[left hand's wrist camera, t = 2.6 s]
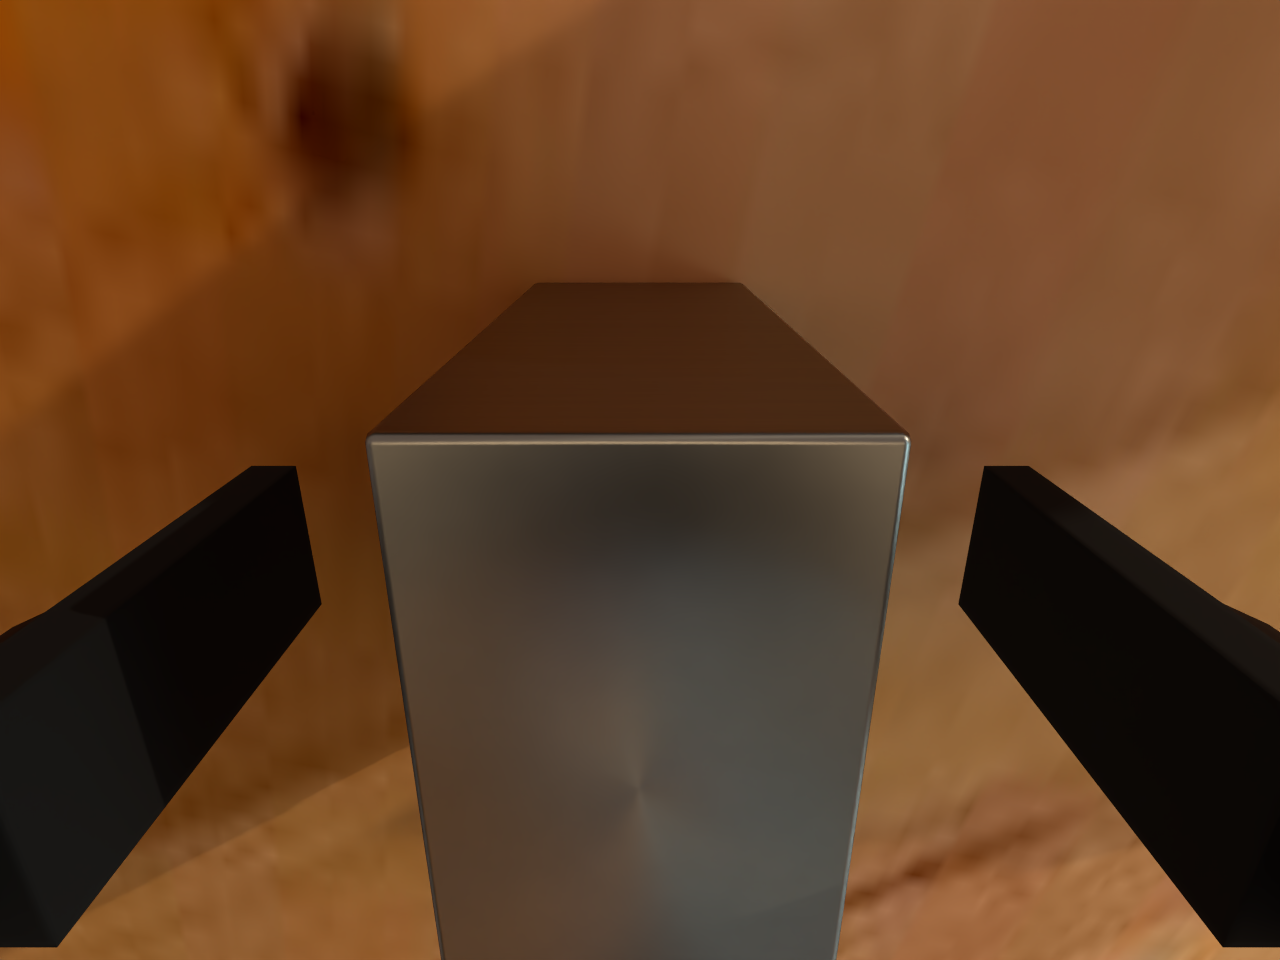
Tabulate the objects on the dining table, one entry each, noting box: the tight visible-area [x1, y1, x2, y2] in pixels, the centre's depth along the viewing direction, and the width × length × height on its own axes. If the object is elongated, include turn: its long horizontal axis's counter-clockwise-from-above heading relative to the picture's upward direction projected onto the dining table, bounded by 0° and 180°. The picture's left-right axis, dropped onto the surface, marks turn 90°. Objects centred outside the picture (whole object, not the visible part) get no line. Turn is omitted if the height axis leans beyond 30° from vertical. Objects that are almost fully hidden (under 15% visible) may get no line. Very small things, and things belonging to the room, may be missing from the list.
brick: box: [365, 283, 911, 960], centre depth 12 cm, size 5×8×11 cm, turn 0°
